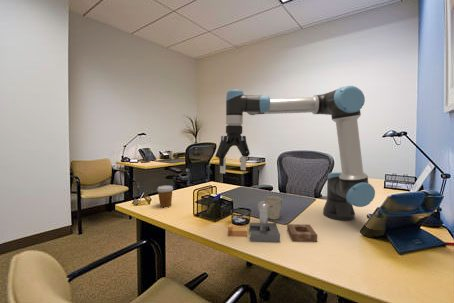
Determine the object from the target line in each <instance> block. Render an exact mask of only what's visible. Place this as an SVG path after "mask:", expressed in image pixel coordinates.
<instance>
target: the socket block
mask: <svg viewBox="0 0 454 303" xmlns="http://www.w3.org/2000/svg"><path fill="white" fill-rule="evenodd" d="M248 227H249V239H250V240H249V241H250V242H251V243H252V242H257V243H281V234H280V231H279V227H278V225H277V223H276V222H268V231H260V222H249V226H248Z"/></svg>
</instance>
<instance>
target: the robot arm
mask: <svg viewBox="0 0 454 303" xmlns="http://www.w3.org/2000/svg"><path fill="white" fill-rule="evenodd" d="M225 97H226V99H225V107H226V108H225V115H226V116H225V124H226V126H225V134H226V135H221V136H220V141H219V145H218V147H217V150H216V153H215V157H216V158H217V159H218V162H219V173H220V174H226V162H227V161H226V158H225V157H226V155H227V154H228V152H229V151H230V149H231V147H233V146H234V147H237V149H238V151H239V153H240V154H241V156H240V170H241V171H246V170H247V158H248V157H249V156H250V155H251V154H250V153H251V152H250V150H249V146H248V143H247V138H246V137H247V136H246V135H242V134H243V124H244V123H243V122H244V121H243V119H244V118H243V116H244V114H243V113H246V114H248V115H250V116H257V115H275V114H303V113H304V114H305V113H309V114H310V113H312V115H326V116H327V115H329V116H331V121H333V122H335V126H336V128H335V129H336V134H337V143H338V150H339V157H340V167H341V172H338V171H337V172H329V173H328V174H327V179H326V181H327V185H326V191H327V192H326V193H327V194H326V201H325V204H324V206H323V209H322V210H323V211H322V213H323V216H325V217H327V218H329V219H333V220H337V221H353V220H355V218H356V213H355V210H354V207H356V208H357V207H358V208H364V207H367V206H368V205H370V204H371V202H373V200H374V198H375V196H376V191H375V188H374V186H373V185H372V184H371V183H369V176H368V174H367V173H365V172H364V168H363V159H362V158H363V157H362V151H361V140H360V131H359V122H358V120H359V118H360V117H361V114H362V113H361V109H362V108H363V106H364V105H365V101H366V98H365V95H364V93H363V91H362V90H361V89H360V88H359V87H357V86H354V85H346V86H341V87H339V88H337V89H334V90H332V91H330V92H326V93H323V94H315V95H313V96H312V97H311V96H310V97H309V96H308V97H284V98H271V97H270V96H269V95H262V94H260V95H257V94H256V95H255V94H250V95H249V94H248V95H247V94H244V91H243V90H241V89H229V90H228V91H227V92H226V96H225Z"/></svg>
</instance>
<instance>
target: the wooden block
mask: <svg viewBox="0 0 454 303" xmlns="http://www.w3.org/2000/svg"><path fill="white" fill-rule="evenodd" d="M233 225H234V224H228V226H227V237H247V228H246V227H234V226H233Z"/></svg>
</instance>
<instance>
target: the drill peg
mask: <svg viewBox="0 0 454 303" xmlns="http://www.w3.org/2000/svg"><path fill="white" fill-rule="evenodd" d="M259 223H260V231H268V223H269V218H268V203H264V202H262V203H260V211H259Z"/></svg>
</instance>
